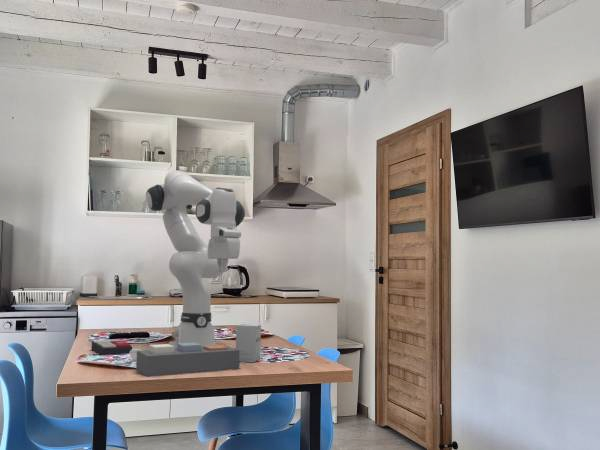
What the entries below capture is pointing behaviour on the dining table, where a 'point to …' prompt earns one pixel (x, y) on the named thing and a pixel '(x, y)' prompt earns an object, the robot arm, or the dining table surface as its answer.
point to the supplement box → (248, 342)
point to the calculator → (111, 347)
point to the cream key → (161, 349)
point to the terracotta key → (215, 347)
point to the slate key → (188, 347)
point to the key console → (186, 361)
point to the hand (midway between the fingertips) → (222, 272)
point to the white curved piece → (133, 354)
